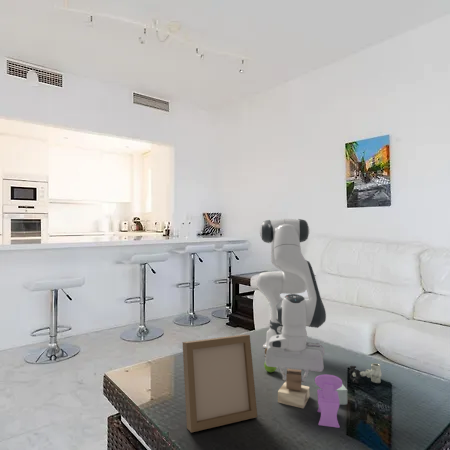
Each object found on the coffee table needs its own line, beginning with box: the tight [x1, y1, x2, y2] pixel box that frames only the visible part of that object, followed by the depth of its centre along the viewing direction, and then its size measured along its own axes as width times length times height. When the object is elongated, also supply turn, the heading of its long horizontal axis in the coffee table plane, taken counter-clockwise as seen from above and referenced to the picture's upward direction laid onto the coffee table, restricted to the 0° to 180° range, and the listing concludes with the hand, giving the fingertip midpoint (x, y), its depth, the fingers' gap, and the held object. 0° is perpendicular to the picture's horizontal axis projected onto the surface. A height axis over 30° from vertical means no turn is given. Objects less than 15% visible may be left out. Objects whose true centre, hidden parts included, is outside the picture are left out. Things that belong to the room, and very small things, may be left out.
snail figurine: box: [263, 347, 278, 373], centre depth 145 cm, size 5×6×12 cm
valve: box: [348, 362, 382, 384], centre depth 136 cm, size 7×7×12 cm
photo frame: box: [182, 334, 258, 434], centre depth 110 cm, size 15×22×25 cm
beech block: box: [277, 381, 311, 409], centre depth 121 cm, size 9×9×4 cm
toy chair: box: [314, 373, 343, 429], centre depth 109 cm, size 8×9×15 cm
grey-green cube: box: [335, 383, 348, 405], centre depth 121 cm, size 5×5×5 cm
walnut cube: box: [285, 368, 302, 390], centre depth 121 cm, size 5×5×5 cm
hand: (293, 380), depth 121 cm, fingers closed on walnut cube, 5 cm apart
